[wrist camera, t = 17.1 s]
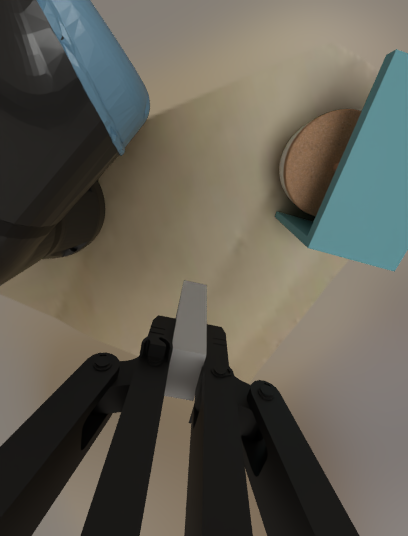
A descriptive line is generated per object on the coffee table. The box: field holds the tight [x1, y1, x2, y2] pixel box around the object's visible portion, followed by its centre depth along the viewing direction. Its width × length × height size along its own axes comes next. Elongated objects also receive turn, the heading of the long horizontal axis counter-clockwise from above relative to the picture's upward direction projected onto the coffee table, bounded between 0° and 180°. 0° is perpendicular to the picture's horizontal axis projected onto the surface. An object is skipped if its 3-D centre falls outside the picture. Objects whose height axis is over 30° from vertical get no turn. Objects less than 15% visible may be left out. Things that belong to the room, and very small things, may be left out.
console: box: [275, 49, 408, 271], centre depth 29 cm, size 9×16×14 cm, turn 165°
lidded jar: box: [279, 109, 362, 216], centre depth 31 cm, size 11×11×9 cm
